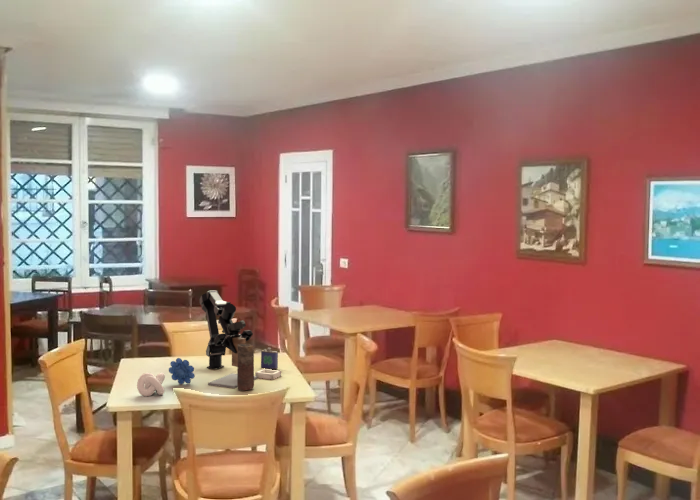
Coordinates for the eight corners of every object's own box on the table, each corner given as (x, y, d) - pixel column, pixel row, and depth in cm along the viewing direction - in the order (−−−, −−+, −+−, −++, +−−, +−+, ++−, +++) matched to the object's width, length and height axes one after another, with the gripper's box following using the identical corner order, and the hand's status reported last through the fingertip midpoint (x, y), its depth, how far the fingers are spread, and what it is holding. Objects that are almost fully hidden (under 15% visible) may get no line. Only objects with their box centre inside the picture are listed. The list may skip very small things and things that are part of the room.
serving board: (232, 375, 333) (232, 373, 333) (257, 378, 328) (257, 376, 328) (208, 384, 315) (208, 382, 315) (234, 388, 310) (234, 386, 310)
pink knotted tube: (149, 389, 306) (149, 369, 305) (173, 392, 302) (173, 371, 302) (133, 396, 295) (133, 375, 294) (158, 398, 291) (158, 377, 291)
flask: (278, 368, 348) (278, 347, 347) (275, 370, 345) (275, 348, 345) (262, 367, 351) (262, 346, 351) (259, 368, 349) (259, 347, 348)
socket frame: (264, 373, 337) (264, 368, 337) (281, 375, 334) (281, 370, 333) (255, 377, 329) (255, 372, 329) (272, 379, 326) (272, 374, 326)
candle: (237, 386, 312) (238, 342, 311) (254, 386, 313) (254, 342, 312) (236, 391, 305) (236, 346, 303) (253, 391, 305) (253, 346, 304)
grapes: (166, 386, 311) (166, 360, 310) (169, 382, 317) (169, 356, 317) (193, 386, 312) (193, 360, 311) (195, 382, 318) (195, 356, 318)
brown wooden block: (238, 364, 328) (238, 336, 327) (245, 365, 325) (245, 338, 324) (231, 365, 325) (231, 338, 324) (238, 367, 322) (239, 339, 321)
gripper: (217, 317, 320) (230, 344, 313) (250, 313, 333) (264, 339, 325) (208, 331, 327) (220, 358, 319) (241, 327, 339) (254, 353, 332)
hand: (240, 352), depth 324 cm, fingers closed on brown wooden block, 4 cm apart
